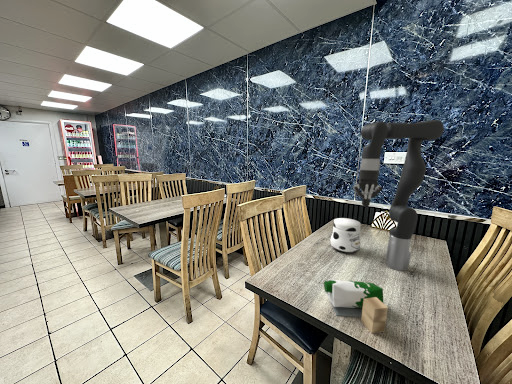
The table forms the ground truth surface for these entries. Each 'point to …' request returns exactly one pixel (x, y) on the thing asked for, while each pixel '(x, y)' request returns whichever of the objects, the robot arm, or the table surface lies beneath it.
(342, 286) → the soya milk
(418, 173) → the robot arm
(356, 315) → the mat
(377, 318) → the oak block
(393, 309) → the table surface
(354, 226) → the milk container
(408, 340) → the table surface
